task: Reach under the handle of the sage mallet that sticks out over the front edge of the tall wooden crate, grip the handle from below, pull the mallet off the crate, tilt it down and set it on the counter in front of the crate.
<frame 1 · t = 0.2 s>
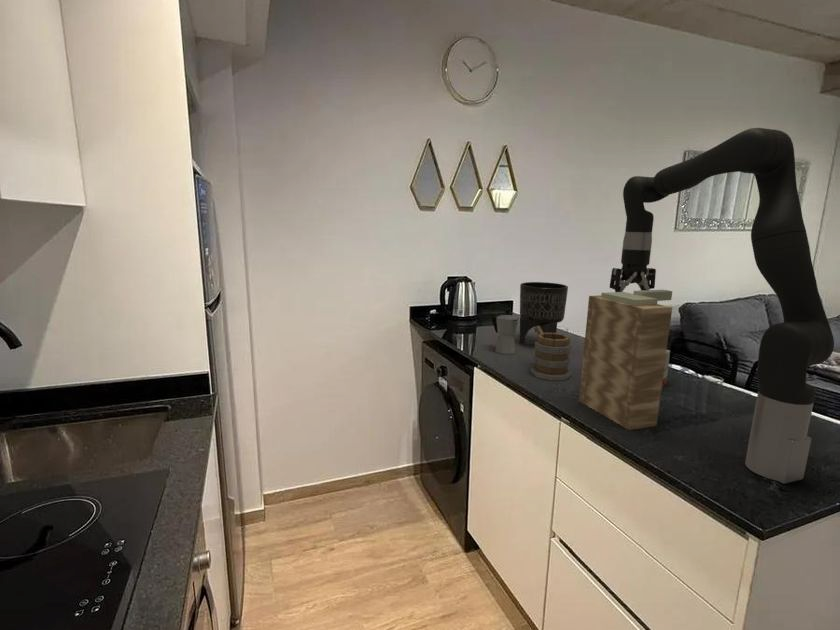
hand: (630, 303, 134), 29 cm above the worktop, tool pointing down, fingers open, 8 cm apart
sage mallet: (628, 301, 121), point 32 cm above the worktop, touching wooden crate
ink box: (650, 382, 153), on the worktop
coffee maker: (503, 351, 187), on the worktop
tankard: (545, 371, 163), on the worktop
planter: (539, 345, 197), on the worktop
wooden crate: (615, 412, 128), on the worktop
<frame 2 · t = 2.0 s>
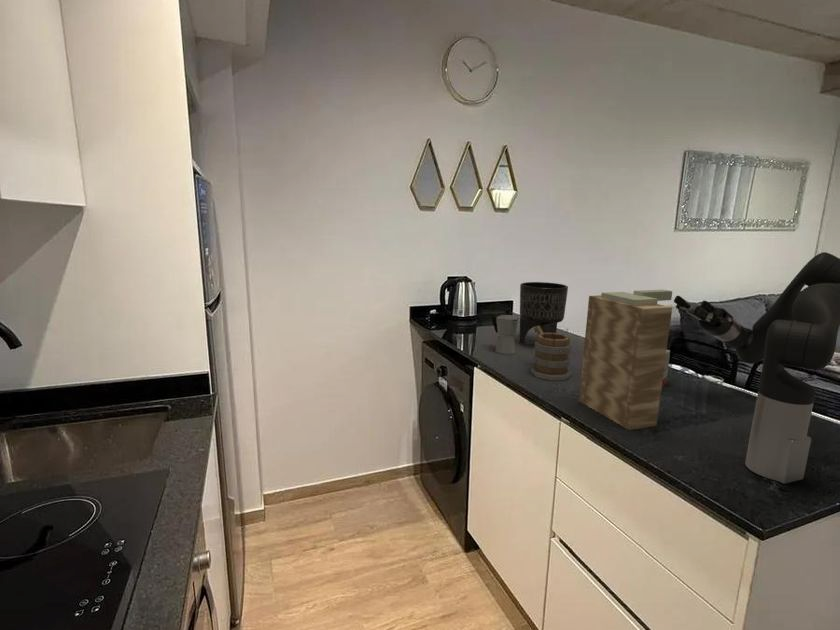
hand: (689, 300, 129), 31 cm above the worktop, tool pointing upward, fingers open, 8 cm apart
nothing on the worktop moved.
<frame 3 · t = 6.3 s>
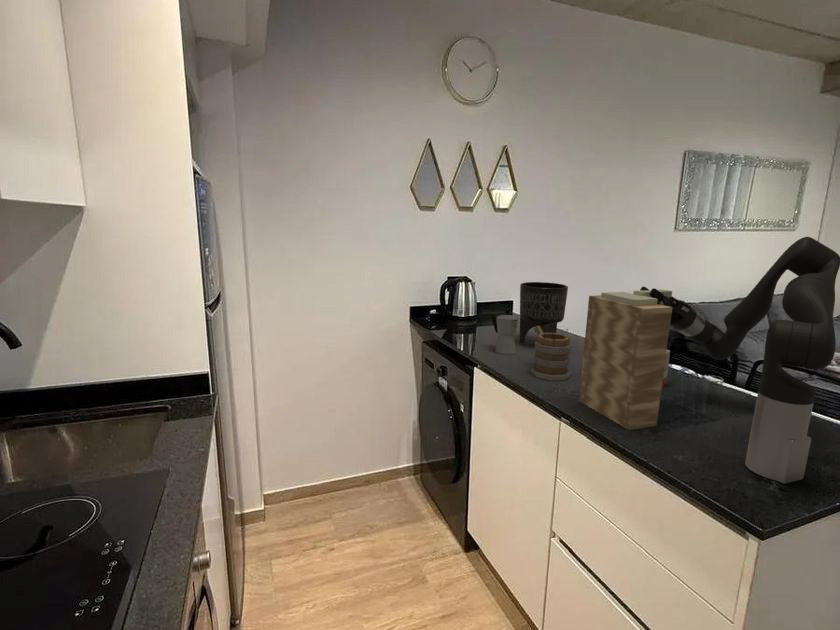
hand: (646, 290, 123), 35 cm above the worktop, tool pointing upward, fingers closed on sage mallet, 3 cm apart
sage mallet: (628, 301, 121), point 32 cm above the worktop, touching gripper, wooden crate
everything else where it was.
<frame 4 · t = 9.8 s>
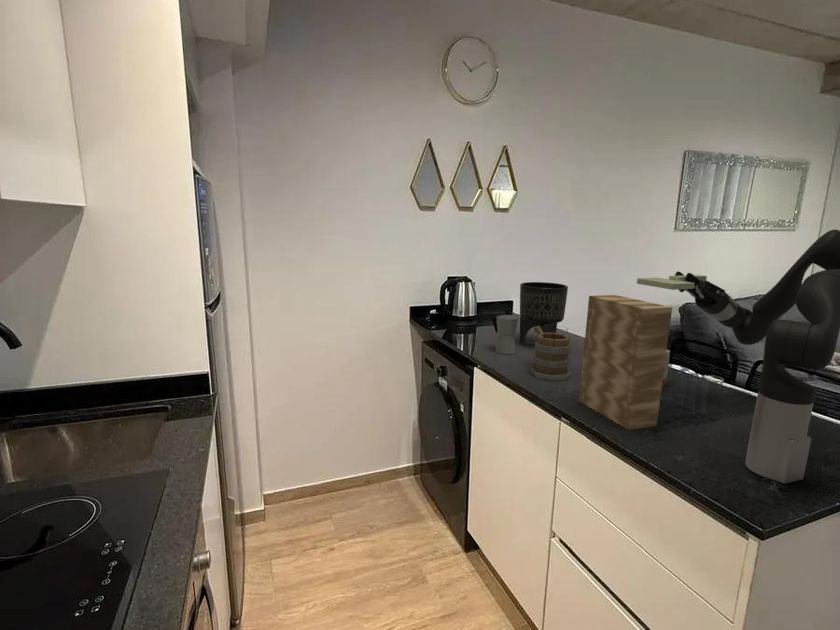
hand: (681, 275, 126), 39 cm above the worktop, tool pointing upward, fingers closed on sage mallet, 3 cm apart
sage mallet: (664, 286, 124), point 36 cm above the worktop, touching gripper
everything else where it was.
when the fingers open (9 cm above the worktop, at t = 13.7 s): sage mallet drops 4 cm, on the worktop.
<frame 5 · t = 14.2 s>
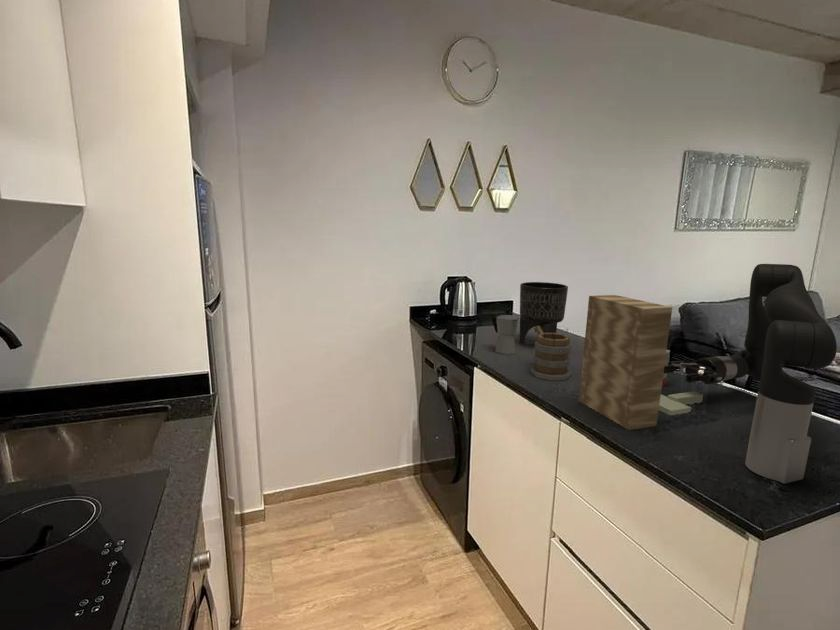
hand: (674, 374, 132), 10 cm above the worktop, tool horizontal, fingers open, 7 cm apart
sage mallet: (663, 405, 133), on the worktop
everything else where it was.
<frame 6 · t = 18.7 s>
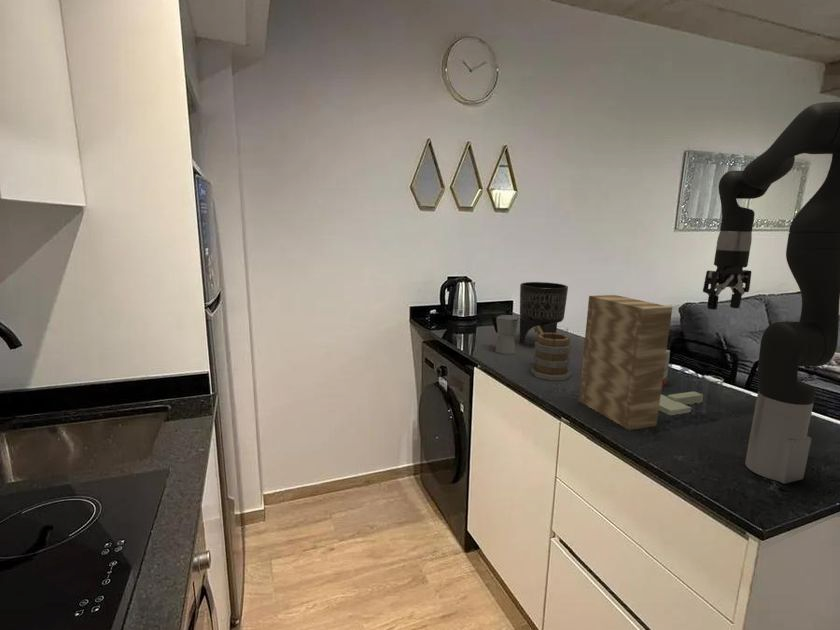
hand: (723, 308, 124), 30 cm above the worktop, tool pointing down, fingers open, 8 cm apart
nothing on the worktop moved.
at the end: sage mallet on the worktop; sage mallet inside the target area (1.0 cm from its centre), on the worktop; the gripper is holding nothing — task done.
